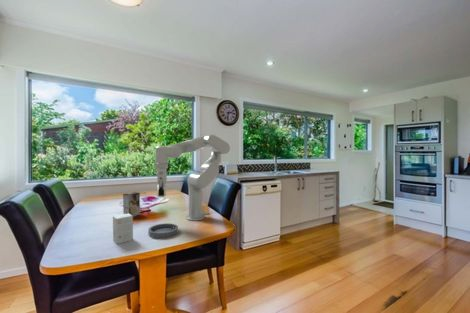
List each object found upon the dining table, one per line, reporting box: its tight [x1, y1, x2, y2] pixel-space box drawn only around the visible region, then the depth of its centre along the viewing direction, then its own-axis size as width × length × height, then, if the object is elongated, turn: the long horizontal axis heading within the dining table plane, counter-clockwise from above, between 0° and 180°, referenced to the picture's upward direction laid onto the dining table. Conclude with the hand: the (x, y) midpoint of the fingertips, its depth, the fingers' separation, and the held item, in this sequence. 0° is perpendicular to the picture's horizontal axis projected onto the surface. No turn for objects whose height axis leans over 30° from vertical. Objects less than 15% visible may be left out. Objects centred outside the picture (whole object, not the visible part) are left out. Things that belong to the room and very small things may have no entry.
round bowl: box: [147, 222, 179, 240], centre depth 130 cm, size 16×16×3 cm
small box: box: [112, 213, 134, 245], centre depth 119 cm, size 8×6×13 cm
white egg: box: [156, 184, 167, 198], centre depth 142 cm, size 5×5×7 cm
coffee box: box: [122, 191, 141, 217], centre depth 162 cm, size 9×6×16 cm
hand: (161, 194), depth 142 cm, fingers closed on white egg, 5 cm apart
